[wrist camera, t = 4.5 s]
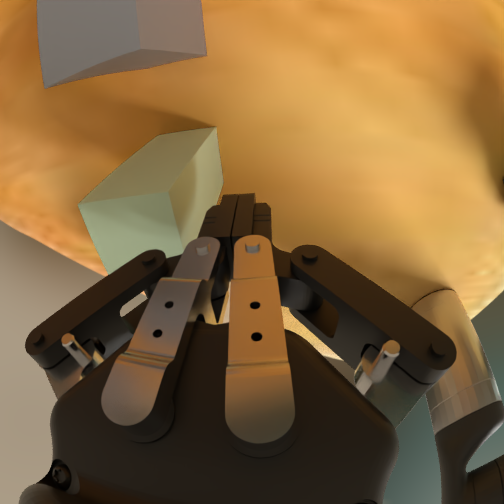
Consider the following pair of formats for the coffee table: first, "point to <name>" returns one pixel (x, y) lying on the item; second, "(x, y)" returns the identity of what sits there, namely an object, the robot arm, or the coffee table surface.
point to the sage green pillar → (155, 197)
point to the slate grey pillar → (115, 36)
